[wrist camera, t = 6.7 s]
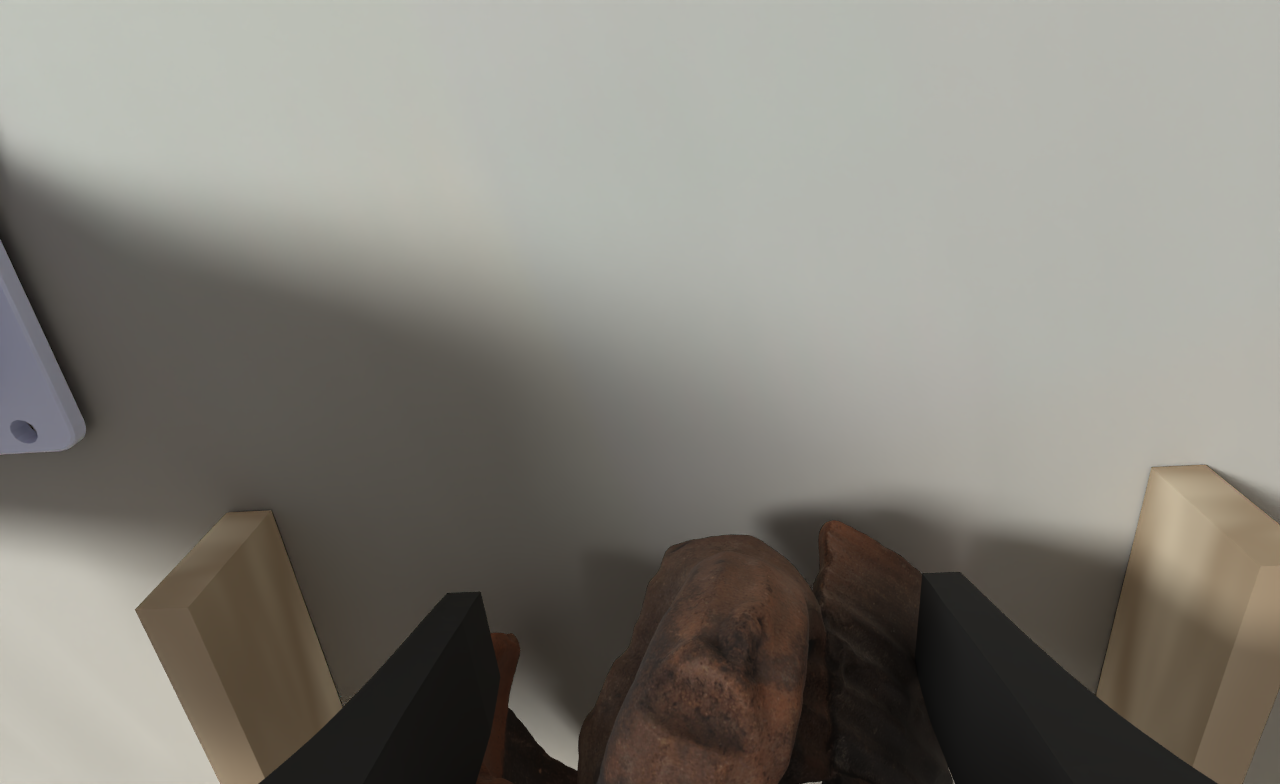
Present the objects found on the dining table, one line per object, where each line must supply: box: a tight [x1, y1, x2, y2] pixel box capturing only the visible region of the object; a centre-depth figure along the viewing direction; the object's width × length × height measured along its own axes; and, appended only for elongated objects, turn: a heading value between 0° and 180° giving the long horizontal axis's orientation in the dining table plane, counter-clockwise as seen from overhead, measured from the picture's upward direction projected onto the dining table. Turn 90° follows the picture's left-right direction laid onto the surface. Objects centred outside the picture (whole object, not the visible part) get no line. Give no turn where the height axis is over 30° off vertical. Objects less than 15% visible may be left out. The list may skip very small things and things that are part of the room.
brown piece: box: [476, 520, 953, 784], centre depth 14 cm, size 12×9×8 cm
